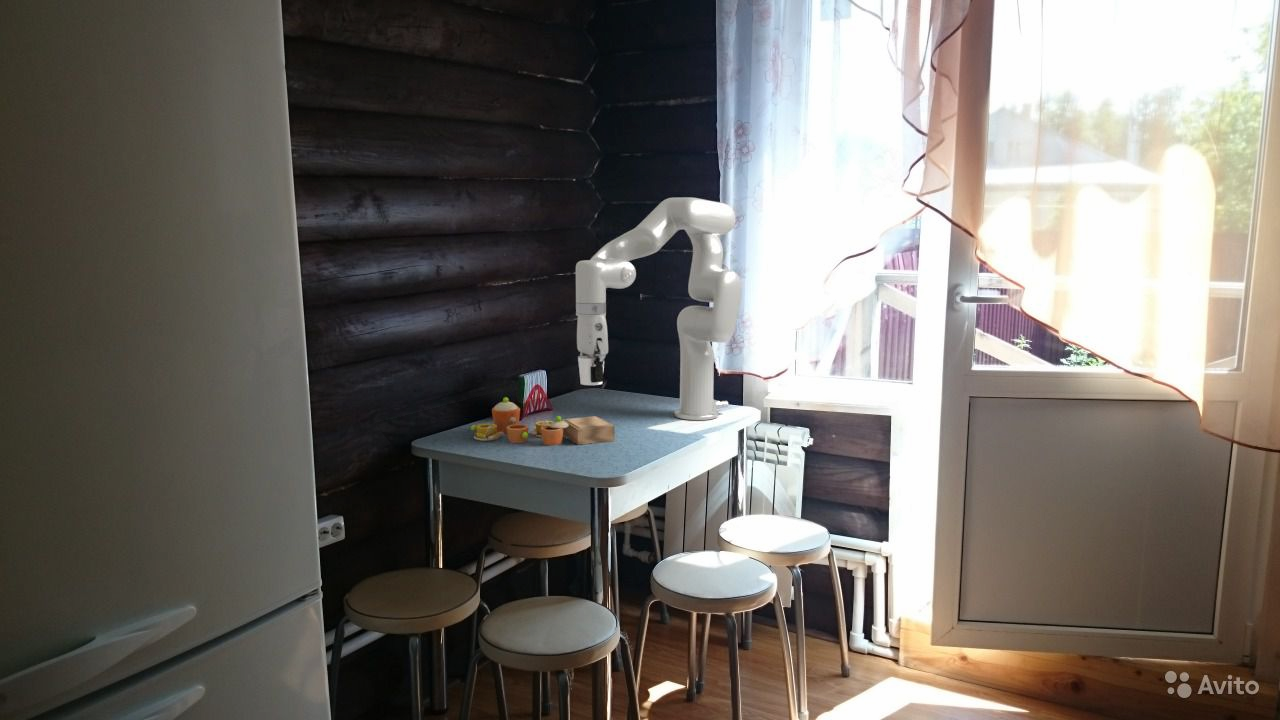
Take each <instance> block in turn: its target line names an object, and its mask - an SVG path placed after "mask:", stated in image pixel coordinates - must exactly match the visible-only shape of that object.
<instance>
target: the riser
mask: <svg viewBox="0 0 1280 720" xmlns="http://www.w3.org/2000/svg"><path fill="white" fill-rule="evenodd" d="M561 421H564V422H566V423H567V424H568V425H569V426H568V427H567V428H564V430H563V435H564V436H565V437H564V436H563V437H564V438H566V437H567V438H568V440H569V439H570V440H569V441H571V440H572V441H573V442H572V441H571V442H572V443H574V444H575V443H576V444H575V445H577V444H578V445H577V446H581V445H580V444H583V445H590V444H589V443H592V444H601V443H608V442H609V441H610V442H615V439H616V438H615V431H616V430H615V429H616V428H615V426H616V425H614V424H612V423H610V422H608V421H606V420H604V419H603V418H600V417H599V416H595V415H594V416H586V417H584V416H583V417H574V418H565V419H561ZM567 438H566V439H567ZM610 442H609V443H610Z"/></svg>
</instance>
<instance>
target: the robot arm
mask: <svg viewBox="0 0 1280 720" xmlns="http://www.w3.org/2000/svg"><path fill="white" fill-rule="evenodd" d="M735 225H736V214H735V211H734V210H733V208H732V207H731V206H730V205H729V204H727V203H723V202H720V201H719V202H718V201H713V200H708V199H703V198H698V197H692V196H691V197H687V196H686V197H668V198H666V199H664V200H663V201H661V202H659V204H658V205H657V206H656V207H655V208H653V210H652V211H651V212H650V213H649V214H647V216H645V218H644V219H643V220H642V221H641V222H640V223H639V224H638V225H637V226H636V227H635V228H633V229H631V230H629V231H627V232H625V233H623V234H622V235H620V236H617V237H616V238H614V239H612V240H610V241H609V242H607V243H606V244H605V245H603V246H602V247H601V248H600V249H599V250H598V251H597V252H596V253H595V254H594V255H592V256H591V258H590V259H589V260H588V259H587V260H586V259H585V260H580V261H578V262H577V263H576V265H575V310H576V311H575V316H577V321H576V322H577V325H576V347H577V350H578V356H582V355H590V356H591V362H592V367H591V382H602V381H604V370H603V366H604V367H605V358H606V356H607V355H608V353H609V340H608V339H609V338H608V337H609V335H608V334H609V333H608V324H607V319H606V316H607V315H606V314H607V302H606V300H607V298H606V297H607V293H606V291H607V289H608V288H611V289H625V288H628V287H630V286H631V285H632V284H633V283H634V281H635V280H636V277H637V272H636V271H637V270H636V267H635V266H634V265H633V264H632V262H630V261H633V260H636V259H640V258H645V257H647V256H651V255H653V254H655V253H657V252H658V251H660V250H661V249H662V247H663V246H664V245H666V243H667V242H668V241H669V240H670V239H671V238H672V237H673V236H674V235H675V234H676V233H677V232H678V231H680V230H684V231H685V232H686V234H687V236H688V237H689V239H690V241H691V244H692V260H691V265H690V271H689V278H688V288H687V289H688V291H687V292H688V294H689V296H690V298H691V299H693V300H696V301H699V302H704V303H713V304H712V306H711V307H710V306H702V305H689V306H686V307H684V308H683V309H682V310H681V311H680V312H679V314H678V316H677V320H676V325H677V326H676V327H677V333H678V339H679V340H678V341H679V346H680V347H679V350H680V353H679V355H680V363H679V365H680V366H679V371H680V373H679V374H680V375H679V380H680V381H679V408H678V409H675V411H674V416H675V417H676V418H678V419H682V420H686V421H687V420H688V421H690V420H691V421H707V420H708V421H709V420H713V419H716V418H718V417H719V411H718V410H719V409H720V408H721V409H723V408H725V409H726V408H728V407H729V402H728V400H721V401H720V400H716V399H714V378H715V377H714V376H715V375H714V372H715V371H714V369H715V368H714V367H715V366H714V364H715V355H714V354H715V353H714V349H713V347H712V345H711V343H718V344H719V343H722V344H723V343H726V342H729V340H731V339H732V338H733V335H734V333H735V332H736V327H737V322H738V316H739V311H740V305H741V299H742V289H743V288H742V282H741V279H740V276H739V275H738V274H737V272H735V271H733V270H732V269H728V268H723V260H724V259H723V257H724V249H723V244H722V242H721V239H720V238H719V236H723V235H727V234H729V233H730V232H731V231H732V230H733V229H734V227H735ZM595 357H597V358H596V360H595ZM602 383H603V382H602Z"/></svg>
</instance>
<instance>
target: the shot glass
mask: <svg viewBox="0 0 1280 720" xmlns="http://www.w3.org/2000/svg"><path fill="white" fill-rule="evenodd" d="M596 358H597V357H595V360H596ZM577 362H578V368H579V369H578V370H579V379H580V382H579V383H580V385H583V386H598V385H603V381H604V380H603V381H602V382H591V367H592V362H591V356H590V355H582V356H580V355H578V356H577ZM604 368H605V365H604V366H603V371H604V370H605V369H604Z"/></svg>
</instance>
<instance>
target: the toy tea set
mask: <svg viewBox="0 0 1280 720" xmlns="http://www.w3.org/2000/svg"><path fill="white" fill-rule="evenodd" d="M491 414H492V419H493V423H479V424H477V425H475V424H473V425H471V426H470V429H471V431H473V432H475V431H476V432H475V435H474V436H473V438H474V440H477V441H480V442H490V441H495V440H498V439H500V438H501V437H502V436H504V435H507V440H508V442H509V443H512V444H521V443H522V442H523V443H525V442H527V441H528V437H529V428H530V427H529V425H528V424H523V423H522V424H519V422H520V416H521V415H520V414H521V408H520V407H519V406H518V405H517V404H515V403H514V402H511V401H509V398H508V397H506V396H505V397H503V399H502V401H500V402H499V403H497V404H496V405H494V407H492V409H491ZM561 420H562V417H561V416H560V415H556V416H555V420H554V421H551V420H542V421H540V420H539V421H537V422H535V424H534V425H535V426H534V427H533V428H532V430H531V431H530V435H532V436H533V437H535V438H538V437H539V438H540V439H542V443H543V445H544V444H546V445H545V446H548V445H556V446H558V445H557V444H560V445H561V443H563V437H564V436H563V430H564V428H567V427H568V426H569V425H568V424H567V423H566V422H564V421H561ZM539 438H538V439H539Z"/></svg>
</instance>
